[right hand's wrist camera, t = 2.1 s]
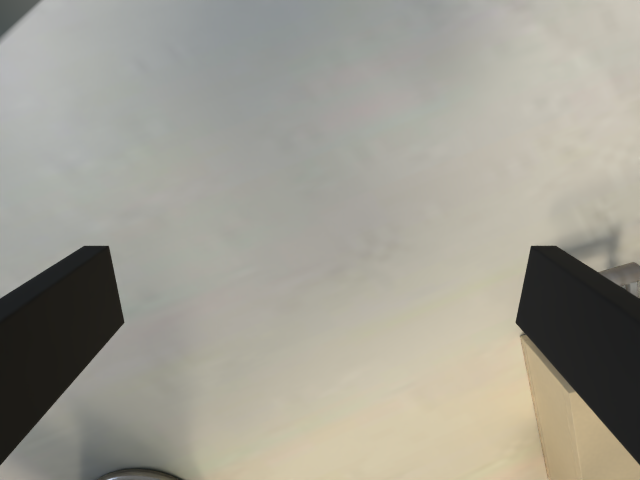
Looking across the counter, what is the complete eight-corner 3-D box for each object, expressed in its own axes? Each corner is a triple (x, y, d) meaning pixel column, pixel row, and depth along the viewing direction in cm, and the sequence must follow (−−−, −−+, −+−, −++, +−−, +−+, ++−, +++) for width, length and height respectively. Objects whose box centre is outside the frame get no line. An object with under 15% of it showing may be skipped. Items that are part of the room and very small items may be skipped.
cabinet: (519, 335, 39) (568, 393, 31) (623, 307, 38) (699, 359, 30) (547, 476, 46) (593, 552, 38) (636, 455, 45) (701, 529, 37)
